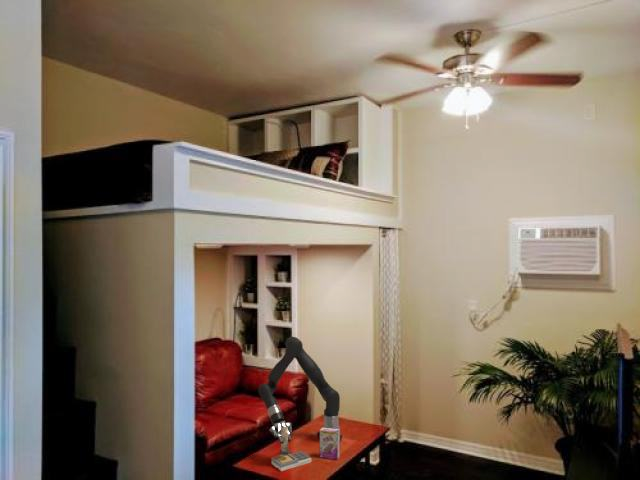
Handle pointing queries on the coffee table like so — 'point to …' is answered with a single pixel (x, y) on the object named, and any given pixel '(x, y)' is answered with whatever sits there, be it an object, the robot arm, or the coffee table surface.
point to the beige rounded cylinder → (284, 446)
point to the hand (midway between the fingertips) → (286, 442)
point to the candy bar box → (329, 443)
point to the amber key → (284, 459)
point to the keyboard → (297, 460)
